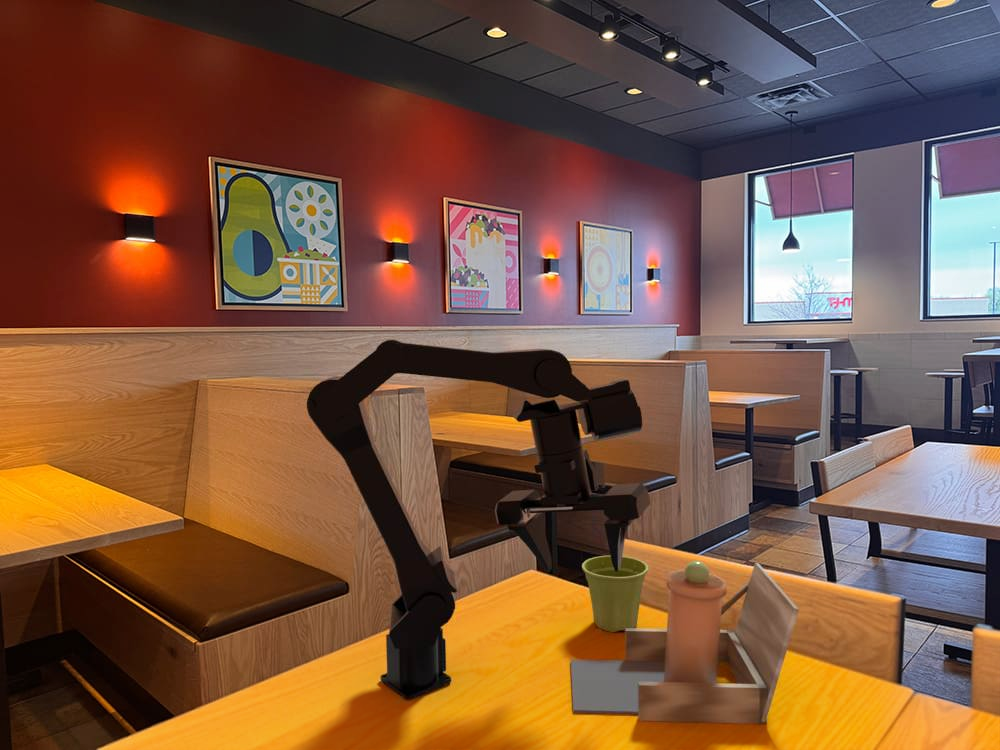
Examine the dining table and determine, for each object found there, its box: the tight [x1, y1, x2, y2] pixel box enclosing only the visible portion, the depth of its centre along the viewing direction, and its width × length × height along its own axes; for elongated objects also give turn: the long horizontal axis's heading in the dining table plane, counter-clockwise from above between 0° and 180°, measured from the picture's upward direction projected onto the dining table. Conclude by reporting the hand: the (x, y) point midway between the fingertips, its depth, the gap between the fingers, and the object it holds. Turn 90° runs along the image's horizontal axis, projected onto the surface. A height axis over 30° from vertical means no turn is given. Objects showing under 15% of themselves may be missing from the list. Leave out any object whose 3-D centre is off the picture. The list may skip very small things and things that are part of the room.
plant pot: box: [581, 555, 649, 633], centre depth 102 cm, size 9×9×9 cm
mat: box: [570, 659, 665, 715], centre depth 84 cm, size 12×12×1 cm
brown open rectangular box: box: [624, 562, 799, 725], centre depth 83 cm, size 17×15×13 cm
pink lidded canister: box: [664, 560, 728, 683], centre depth 83 cm, size 7×7×15 cm
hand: (582, 570), depth 88 cm, fingers open, 9 cm apart
